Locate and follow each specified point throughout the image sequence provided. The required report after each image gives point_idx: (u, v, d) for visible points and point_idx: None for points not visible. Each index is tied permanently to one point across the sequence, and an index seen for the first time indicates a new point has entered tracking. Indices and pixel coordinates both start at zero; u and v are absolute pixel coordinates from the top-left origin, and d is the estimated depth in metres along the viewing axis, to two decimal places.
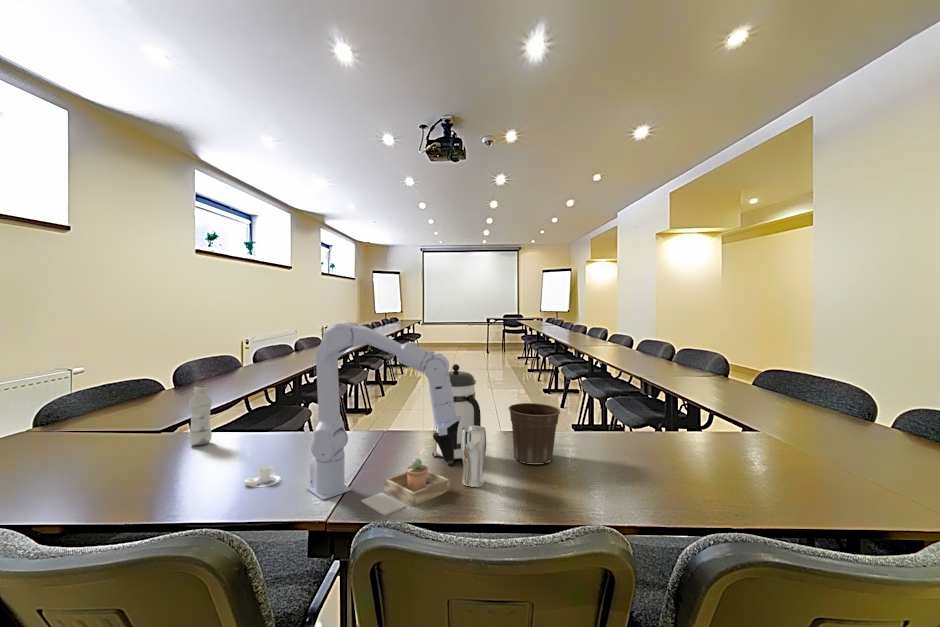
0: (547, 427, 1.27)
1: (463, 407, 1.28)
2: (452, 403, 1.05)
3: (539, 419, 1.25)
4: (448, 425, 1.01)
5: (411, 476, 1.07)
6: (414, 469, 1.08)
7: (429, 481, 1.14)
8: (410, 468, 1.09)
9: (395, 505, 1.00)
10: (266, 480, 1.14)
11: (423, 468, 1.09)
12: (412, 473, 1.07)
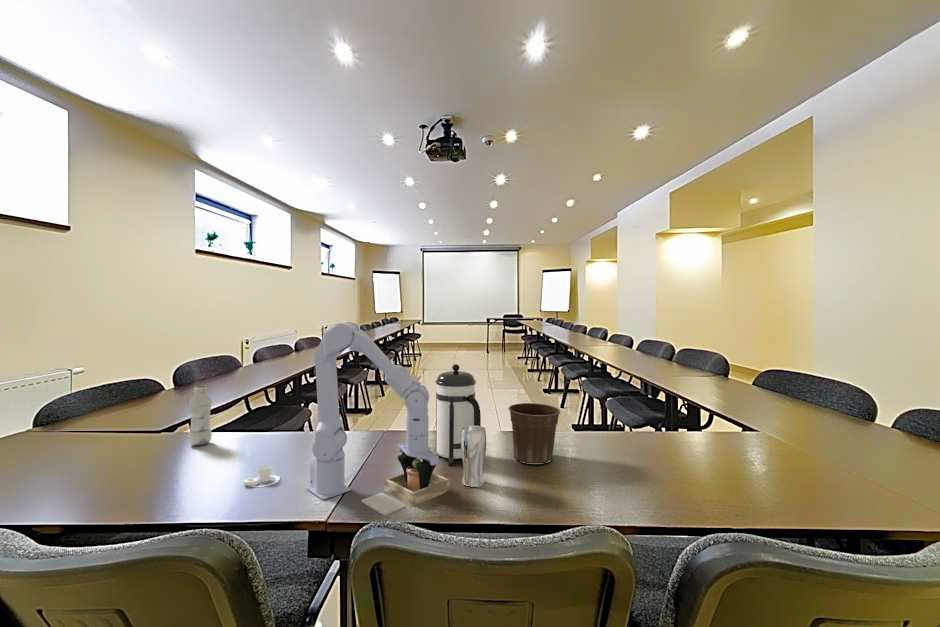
0: (547, 427, 1.27)
1: (463, 407, 1.28)
2: None
3: (539, 419, 1.25)
4: None
5: (411, 476, 1.07)
6: (414, 469, 1.08)
7: None
8: (410, 468, 1.09)
9: (395, 505, 1.00)
10: (265, 480, 1.14)
11: None
12: (412, 473, 1.07)
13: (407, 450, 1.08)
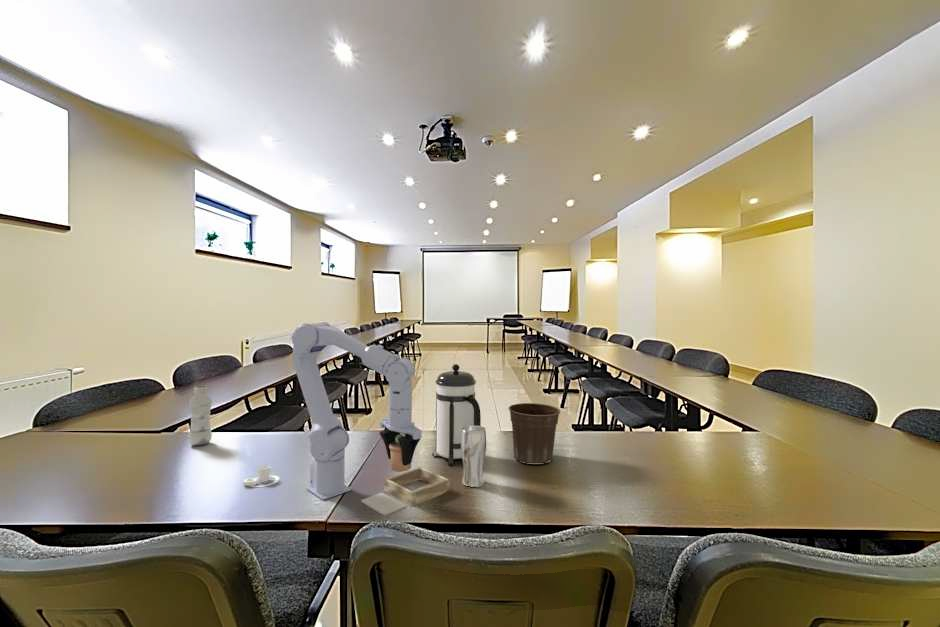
0: (547, 427, 1.27)
1: (463, 407, 1.28)
2: None
3: (539, 419, 1.25)
4: None
5: (394, 452, 1.03)
6: (397, 445, 1.04)
7: (429, 481, 1.14)
8: (393, 444, 1.05)
9: (395, 505, 1.00)
10: (265, 480, 1.14)
11: None
12: (395, 449, 1.03)
13: (389, 424, 1.03)
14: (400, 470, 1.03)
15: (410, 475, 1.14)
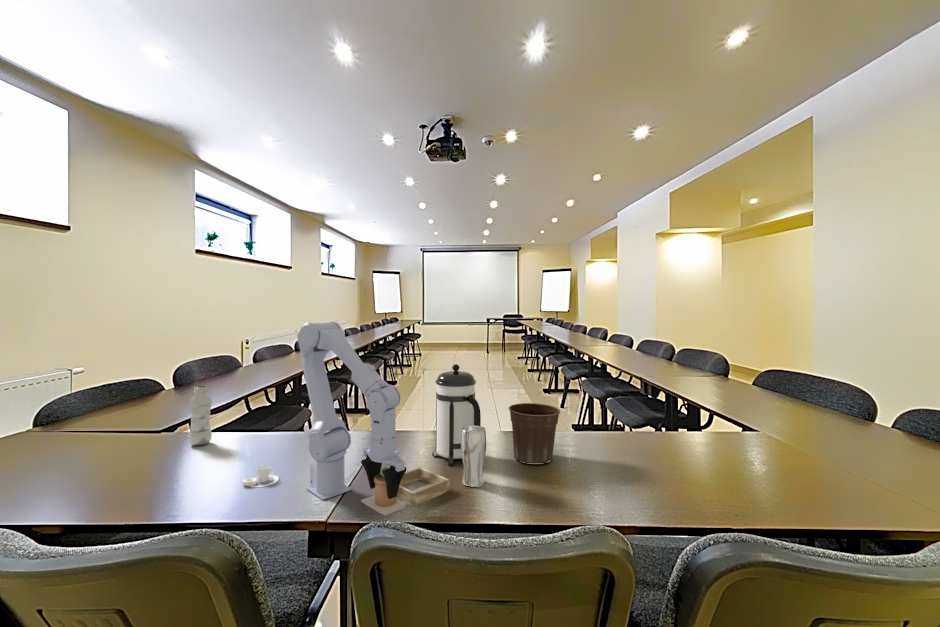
0: (547, 427, 1.27)
1: (463, 407, 1.28)
2: None
3: (539, 419, 1.25)
4: None
5: (379, 485, 1.00)
6: (382, 478, 1.01)
7: (429, 481, 1.14)
8: (378, 477, 1.02)
9: (395, 505, 1.00)
10: (264, 480, 1.14)
11: None
12: (379, 483, 1.00)
13: (372, 455, 1.00)
14: (384, 505, 1.00)
15: (410, 475, 1.14)
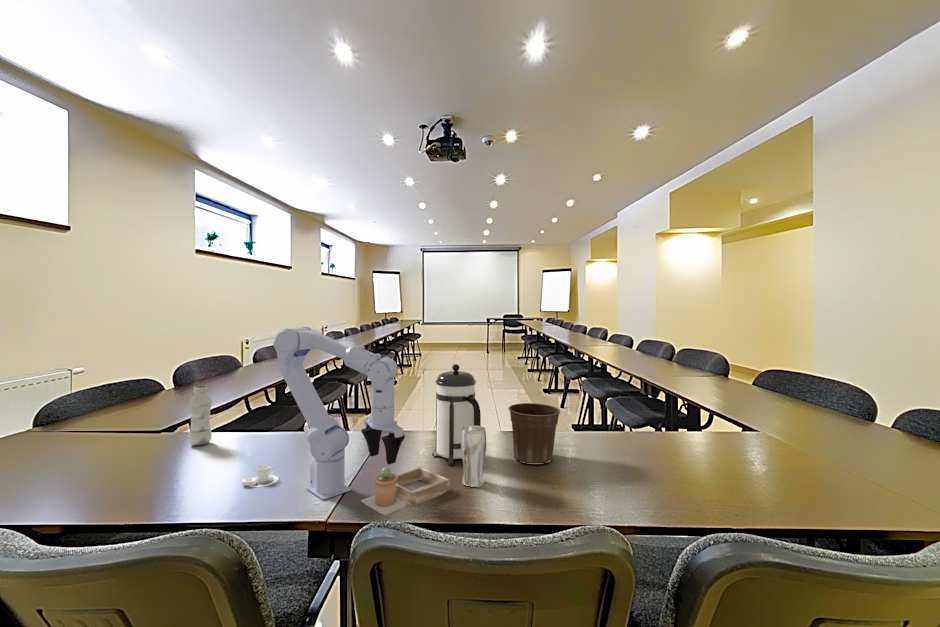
0: (547, 427, 1.27)
1: (463, 407, 1.28)
2: None
3: (539, 419, 1.25)
4: None
5: (379, 486, 1.00)
6: (382, 478, 1.01)
7: (429, 481, 1.14)
8: (378, 477, 1.02)
9: (395, 505, 1.00)
10: (264, 480, 1.14)
11: (392, 477, 1.02)
12: (380, 483, 0.99)
13: (372, 423, 1.04)
14: (384, 505, 1.00)
15: (410, 475, 1.14)
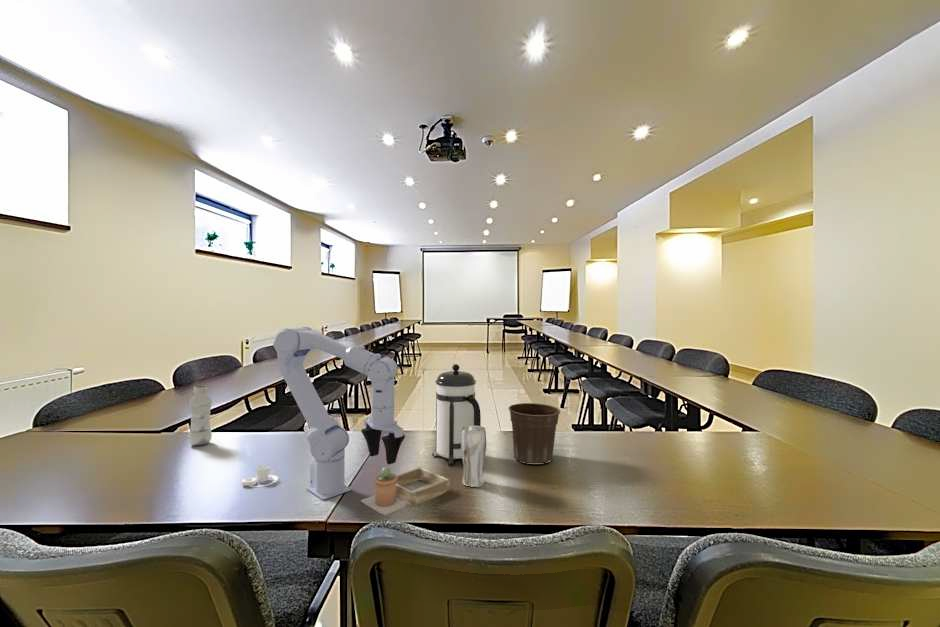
0: (547, 427, 1.27)
1: (463, 407, 1.28)
2: None
3: (539, 419, 1.25)
4: None
5: (379, 486, 1.00)
6: (382, 478, 1.01)
7: (429, 481, 1.14)
8: (378, 477, 1.02)
9: (395, 505, 1.00)
10: (264, 480, 1.14)
11: (392, 477, 1.02)
12: (379, 483, 0.99)
13: (372, 423, 1.04)
14: (384, 505, 1.00)
15: (410, 475, 1.14)
